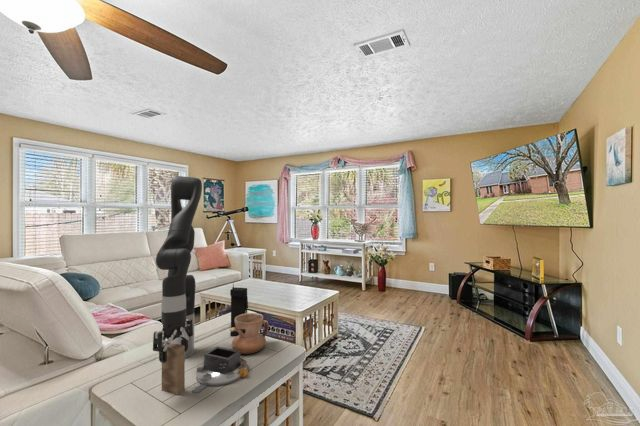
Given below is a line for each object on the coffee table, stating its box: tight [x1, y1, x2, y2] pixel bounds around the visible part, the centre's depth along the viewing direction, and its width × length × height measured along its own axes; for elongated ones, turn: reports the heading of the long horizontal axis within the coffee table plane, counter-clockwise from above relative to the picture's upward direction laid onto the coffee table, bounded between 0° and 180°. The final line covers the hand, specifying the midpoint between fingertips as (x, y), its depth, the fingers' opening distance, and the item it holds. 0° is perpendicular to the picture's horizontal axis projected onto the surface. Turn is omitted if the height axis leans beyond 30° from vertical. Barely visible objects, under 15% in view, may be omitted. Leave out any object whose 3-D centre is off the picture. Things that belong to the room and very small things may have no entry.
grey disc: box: [195, 346, 248, 387], centre depth 111 cm, size 19×18×7 cm
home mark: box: [191, 383, 207, 394], centre depth 101 cm, size 2×4×1 cm, turn 158°
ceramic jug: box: [229, 312, 269, 355], centre depth 131 cm, size 18×14×14 cm
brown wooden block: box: [161, 343, 186, 396], centre depth 101 cm, size 7×3×15 cm, turn 68°
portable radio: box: [229, 283, 249, 338], centre depth 147 cm, size 8×6×25 cm
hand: (174, 356), depth 100 cm, fingers open, 8 cm apart
